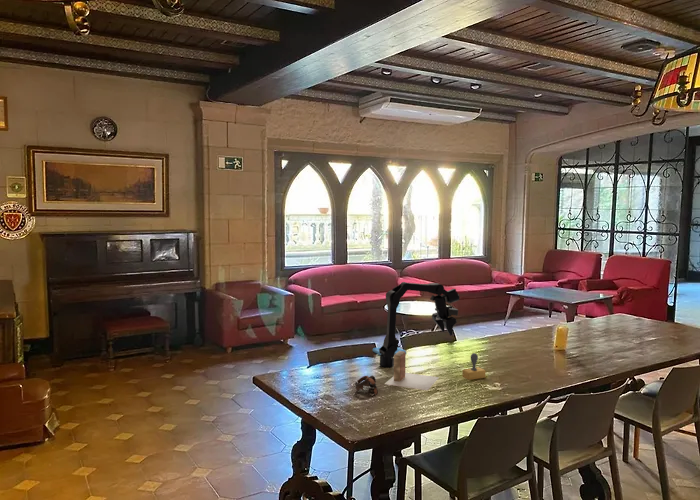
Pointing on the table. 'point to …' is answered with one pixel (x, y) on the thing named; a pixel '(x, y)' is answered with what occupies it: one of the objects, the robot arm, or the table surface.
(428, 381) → the grey rubber mat
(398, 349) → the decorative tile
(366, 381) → the brown arched piece
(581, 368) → the table surface
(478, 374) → the rubber stamp
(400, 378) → the oak tile
